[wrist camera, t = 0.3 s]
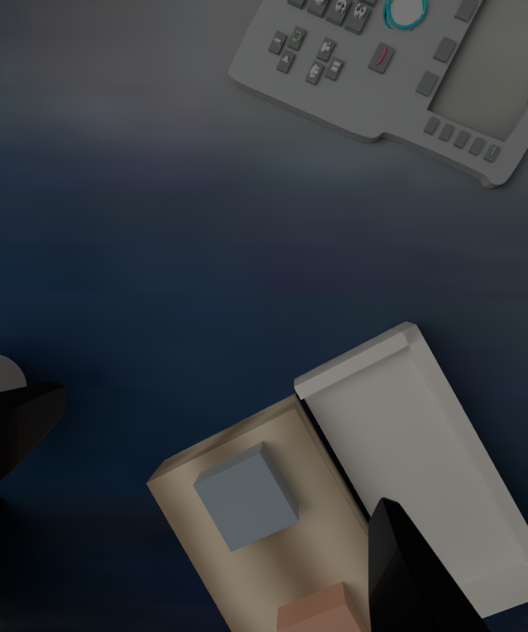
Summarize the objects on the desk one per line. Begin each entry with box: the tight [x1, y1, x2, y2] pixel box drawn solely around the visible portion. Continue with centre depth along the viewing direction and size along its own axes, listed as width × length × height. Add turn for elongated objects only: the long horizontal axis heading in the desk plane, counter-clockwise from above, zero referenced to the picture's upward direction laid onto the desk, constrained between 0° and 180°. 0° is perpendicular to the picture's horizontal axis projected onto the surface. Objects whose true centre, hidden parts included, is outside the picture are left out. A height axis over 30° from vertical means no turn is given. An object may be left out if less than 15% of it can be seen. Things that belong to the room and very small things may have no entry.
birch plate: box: [146, 394, 371, 632], centre depth 23 cm, size 12×18×3 cm, turn 30°
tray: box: [294, 321, 528, 618], centre depth 22 cm, size 9×20×2 cm, turn 30°
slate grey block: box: [193, 441, 299, 552], centre depth 20 cm, size 5×5×2 cm
